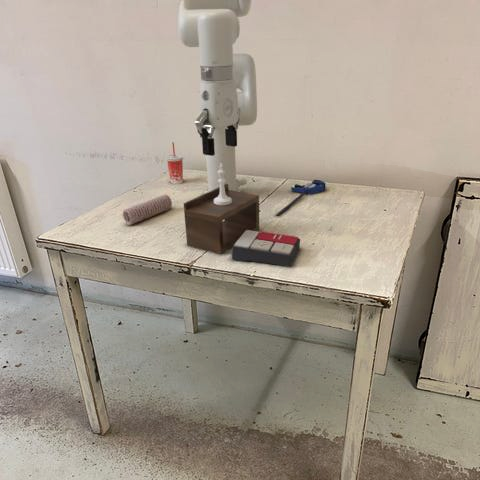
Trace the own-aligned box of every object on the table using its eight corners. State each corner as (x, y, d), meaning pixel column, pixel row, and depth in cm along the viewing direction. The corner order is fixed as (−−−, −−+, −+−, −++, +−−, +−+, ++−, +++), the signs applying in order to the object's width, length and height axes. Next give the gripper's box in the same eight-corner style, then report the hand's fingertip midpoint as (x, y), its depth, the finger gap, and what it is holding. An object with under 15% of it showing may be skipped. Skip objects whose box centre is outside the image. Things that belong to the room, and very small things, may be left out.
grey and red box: (291, 253, 115) (231, 243, 118) (290, 269, 117) (231, 259, 121) (301, 235, 123) (244, 227, 127) (299, 251, 126) (244, 242, 129)
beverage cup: (184, 184, 176) (180, 144, 168) (167, 184, 176) (163, 144, 168) (185, 179, 181) (182, 140, 173) (169, 179, 181) (165, 140, 173)
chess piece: (234, 199, 129) (233, 161, 124) (228, 205, 125) (226, 166, 120) (217, 198, 130) (215, 160, 125) (210, 204, 127) (208, 165, 121)
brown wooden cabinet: (227, 222, 142) (226, 183, 136) (259, 229, 137) (259, 189, 131) (187, 245, 129) (183, 203, 123) (220, 254, 124) (218, 210, 118)
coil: (130, 213, 139) (174, 196, 151) (119, 208, 141) (163, 191, 153) (131, 227, 141) (174, 210, 153) (120, 223, 143) (163, 205, 155)
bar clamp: (301, 177, 171) (328, 180, 166) (301, 183, 172) (328, 187, 168) (260, 208, 148) (290, 213, 144) (260, 216, 149) (290, 221, 145)
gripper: (207, 80, 104) (212, 160, 113) (250, 70, 116) (251, 144, 125) (180, 78, 107) (187, 156, 117) (225, 69, 119) (227, 141, 129)
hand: (220, 150), depth 121 cm, fingers open, 9 cm apart
